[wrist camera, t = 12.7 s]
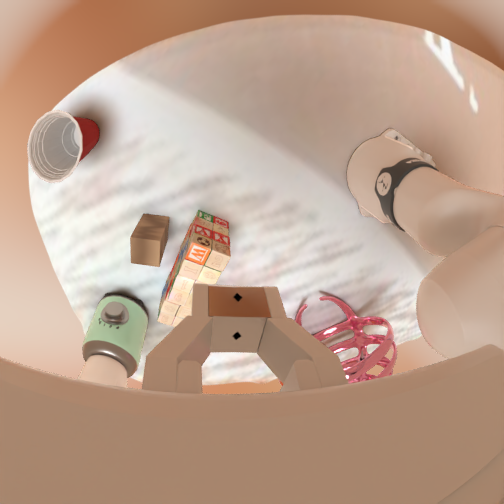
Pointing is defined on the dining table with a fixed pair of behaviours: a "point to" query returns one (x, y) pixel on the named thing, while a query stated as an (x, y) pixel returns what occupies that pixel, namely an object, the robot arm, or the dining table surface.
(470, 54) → the dining table surface
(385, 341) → the spiral basket
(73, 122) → the plastic cup
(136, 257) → the walnut block
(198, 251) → the stack of blocks
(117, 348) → the green blender
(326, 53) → the dining table surface
